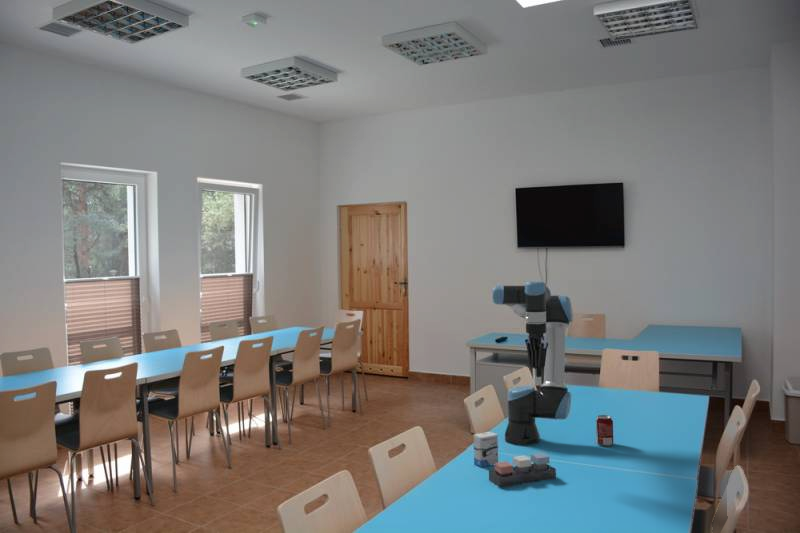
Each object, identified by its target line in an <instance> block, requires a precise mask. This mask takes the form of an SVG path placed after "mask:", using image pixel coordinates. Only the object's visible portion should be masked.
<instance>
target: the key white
mask: <svg viewBox="0 0 800 533" xmlns="http://www.w3.org/2000/svg"><path fill="white" fill-rule="evenodd" d="M531 464H532V461H531V457H528V456H527V455H524V454H523V455H518V456H512V465H514V466H515V467H516V471H517V472H519V473H523V472H529V466H531Z"/></svg>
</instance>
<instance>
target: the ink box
mask: <svg viewBox="0 0 800 533" xmlns="http://www.w3.org/2000/svg"><path fill="white" fill-rule="evenodd" d="M498 435H499V434H497V433H494V432H493V431H486V432H480V433H475V434H473V460H474V461H473V463H474V465H475V466H477V467H480V468H485V466H486V467H489V466H495V465H494V464H495V463H499V443H498V442H499V436H498Z"/></svg>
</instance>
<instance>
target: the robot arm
mask: <svg viewBox="0 0 800 533" xmlns="http://www.w3.org/2000/svg"><path fill="white" fill-rule="evenodd" d="M492 301H493V303H494V304H495V305H501V306H502V305H505V306H507V307H509V308H510V309H512V310H513V312H514V313H515V315H517V316H518V317H521V318H523V319H525V322H526V323H525V333H527V334H528V338H526V339H524V342H525V345H526V352H527V360H528V364H529V366H531V368H532V385H519V386H516V387H512V388H511V389H509V390H508V392H507V399H506V400H507V418H508V420H507V422H508V423H507V426H506V429H505V433H504V441H505V442H506V443H508V444H512V445H518V446H531V445H535V444H539V443H540V440H541V436H540V432H539V429H538V427H537V424H536V419H538V418H539V419H549V420H556V421H557V420H566V419H567V418H568V417H569V414H570V411H571V406H572V393H571V392H570V391H568V390H569V389H568V387H567V386H566V384H565V367H566V364H565V363H566V361H565V360H566V330H567V329H568V328H569V327H570V323H572V322H573V321H574V319H573V317H574V315H573V307H572V301H571V300H570V297H569V296H567V295H552V293H551V290H550V288H549V287H548V286H546V283H545V282H544V281H527V282H525V284H524V285H495V286H494V287H493V289H492ZM544 334H545V337H544ZM542 368H544V369H543V383H542ZM536 386H539V390H536V388H535V387H536Z"/></svg>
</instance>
